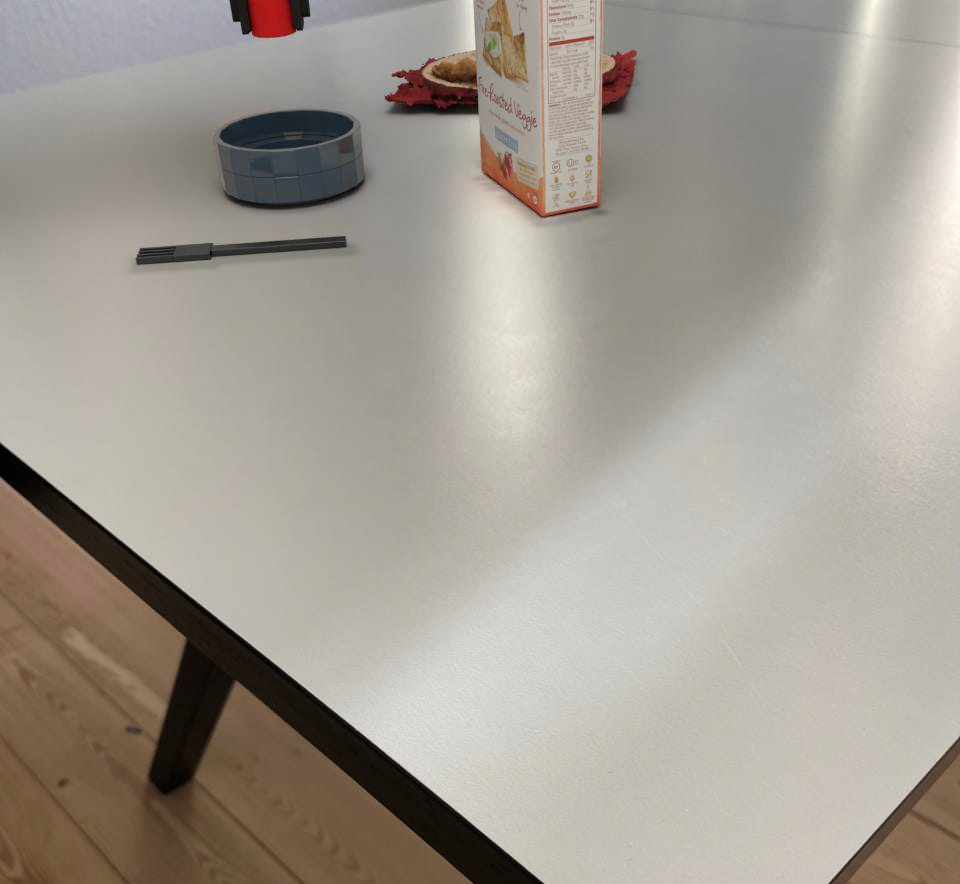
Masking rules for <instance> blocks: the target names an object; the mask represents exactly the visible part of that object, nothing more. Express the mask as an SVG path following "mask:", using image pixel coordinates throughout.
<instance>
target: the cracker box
mask: <svg viewBox="0 0 960 884" xmlns="http://www.w3.org/2000/svg"><path fill="white" fill-rule="evenodd" d="M604 1H605V0H472V2H473V4H472V5H473V24H474V43H475V44H474V45H475V50H476V67H477V86H478V94H477V98H478V103H477V105H478V122H479V124H478V126H479V145H480V146H479V147H480V163H481V164H480V165H481V171H482V172H484V173H485V174H487V175H488V176H489V177H490V178H492V179H493V180H495V182H497V183H498V184H500V185H501V186H502V187H503V188H504V189H506V190H507V191H509V192H510V193H511V194H513V195H514V196H515V197H517V198H518V199H519V200H521V201H522V202H523V203H524V204H526V205H527V206H529V208H531V209H532V210H533V211H535V212H536V213H538V214H539V215H540V216H541V217H548V216H553V215H558V214H562V213H567V212H572V211H576V210H581V209H586V208H592V207H596V206H600V204H601V165H602V164H601V161H602V113H603V112H602V109H603V108H602V63H603V54H604V48H603V47H604V8H605V7H604V6H605V5H604V3H605V2H604Z"/></svg>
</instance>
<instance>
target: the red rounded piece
mask: <svg viewBox="0 0 960 884" xmlns="http://www.w3.org/2000/svg"><path fill="white" fill-rule="evenodd" d="M247 5H248V11H249V17H250V24H251V30H252V31H251V35H252V36H253V37H254V38H260V39H277V38H283V37H287V36H291V35H294V34H296V32H297V29H294V24H293V17H292V10H291V3H290V0H247Z"/></svg>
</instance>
